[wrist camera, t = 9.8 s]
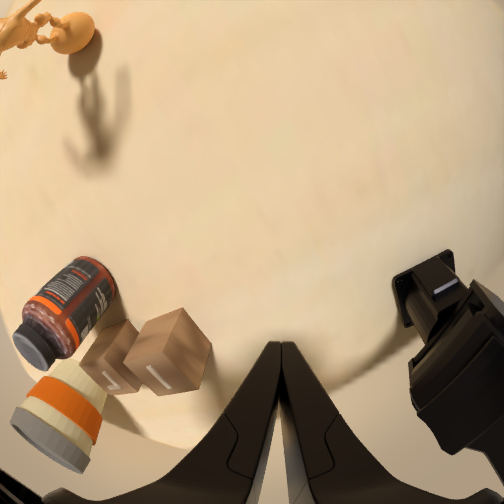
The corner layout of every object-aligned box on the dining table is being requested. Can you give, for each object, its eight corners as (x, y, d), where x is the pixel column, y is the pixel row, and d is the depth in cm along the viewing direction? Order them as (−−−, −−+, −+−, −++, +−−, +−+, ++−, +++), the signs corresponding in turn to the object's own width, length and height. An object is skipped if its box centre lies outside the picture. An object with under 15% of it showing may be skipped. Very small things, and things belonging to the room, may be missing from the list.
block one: (212, 344, 27) (200, 392, 21) (175, 355, 28) (159, 399, 22) (182, 307, 25) (161, 353, 19) (146, 321, 26) (122, 364, 21)
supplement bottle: (64, 255, 24) (-6, 318, 13) (105, 251, 23) (28, 325, 13) (84, 303, 26) (28, 372, 16) (125, 304, 25) (69, 387, 15)
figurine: (108, -6, 12) (19, -47, 1) (141, 22, 14) (40, -29, 3) (50, 62, 15) (-49, 60, 4) (75, 95, 17) (-38, 103, 6)
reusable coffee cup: (122, 380, 32) (81, 467, 18) (115, 411, 37) (86, 479, 23) (50, 335, 30) (-2, 407, 16) (56, 376, 35) (19, 436, 22)
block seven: (157, 353, 28) (139, 395, 23) (130, 360, 29) (110, 398, 24) (128, 319, 26) (102, 359, 21) (102, 330, 28) (77, 366, 22)
